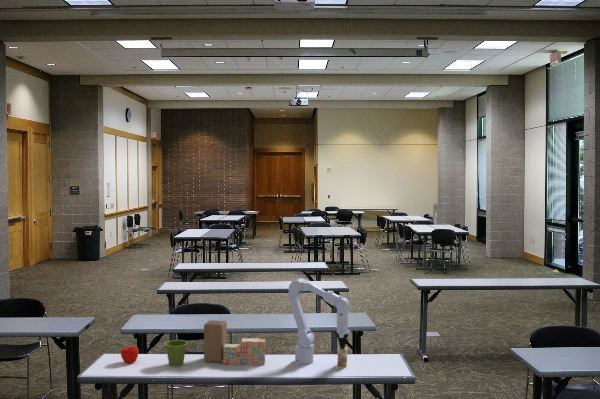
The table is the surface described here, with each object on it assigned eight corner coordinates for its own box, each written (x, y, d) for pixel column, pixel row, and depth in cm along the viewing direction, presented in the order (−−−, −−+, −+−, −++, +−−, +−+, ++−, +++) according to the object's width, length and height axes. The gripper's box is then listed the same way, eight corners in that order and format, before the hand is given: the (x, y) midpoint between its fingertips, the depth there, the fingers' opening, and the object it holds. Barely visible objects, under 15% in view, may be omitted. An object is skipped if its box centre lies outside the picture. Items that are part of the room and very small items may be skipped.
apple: (121, 366, 293) (121, 350, 293) (119, 361, 301) (119, 346, 301) (139, 363, 297) (139, 348, 297) (137, 359, 305) (137, 344, 305)
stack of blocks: (223, 364, 296) (223, 341, 296) (224, 361, 302) (225, 338, 302) (264, 365, 296) (264, 341, 296) (265, 361, 302) (265, 338, 302)
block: (203, 362, 300) (203, 324, 300) (209, 356, 310) (209, 319, 310) (221, 363, 299) (221, 324, 298) (227, 357, 309) (227, 320, 308)
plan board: (319, 372, 283) (319, 371, 283) (322, 363, 299) (322, 362, 299) (347, 374, 281) (347, 373, 281) (349, 364, 296) (349, 363, 296)
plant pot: (163, 362, 300) (163, 340, 299) (186, 360, 303) (186, 339, 303) (165, 369, 288) (165, 346, 288) (189, 366, 292) (189, 344, 292)
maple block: (337, 357, 291) (337, 349, 291) (338, 355, 295) (338, 346, 295) (346, 358, 290) (346, 349, 290) (347, 355, 295) (347, 347, 295)
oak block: (337, 366, 291) (337, 357, 291) (338, 364, 296) (338, 355, 296) (346, 367, 290) (346, 358, 290) (347, 364, 295) (347, 355, 295)
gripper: (349, 325, 285) (349, 352, 285) (351, 319, 299) (351, 344, 299) (335, 325, 286) (335, 352, 286) (337, 318, 300) (337, 344, 300)
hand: (342, 348), depth 293 cm, fingers closed, pressing on maple block
